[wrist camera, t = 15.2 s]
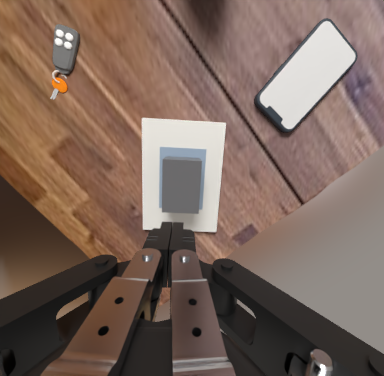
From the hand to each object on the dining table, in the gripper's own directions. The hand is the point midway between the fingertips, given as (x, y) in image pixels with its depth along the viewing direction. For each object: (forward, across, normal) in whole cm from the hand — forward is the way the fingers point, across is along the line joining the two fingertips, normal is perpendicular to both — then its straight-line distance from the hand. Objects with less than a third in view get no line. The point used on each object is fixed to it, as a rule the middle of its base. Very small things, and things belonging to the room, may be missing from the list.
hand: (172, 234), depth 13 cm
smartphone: (+22, -20, -18) cm, 35 cm away
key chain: (+23, +20, -16) cm, 34 cm away
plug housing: (+21, 0, 0) cm, 21 cm away
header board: (+22, 0, 0) cm, 22 cm away
